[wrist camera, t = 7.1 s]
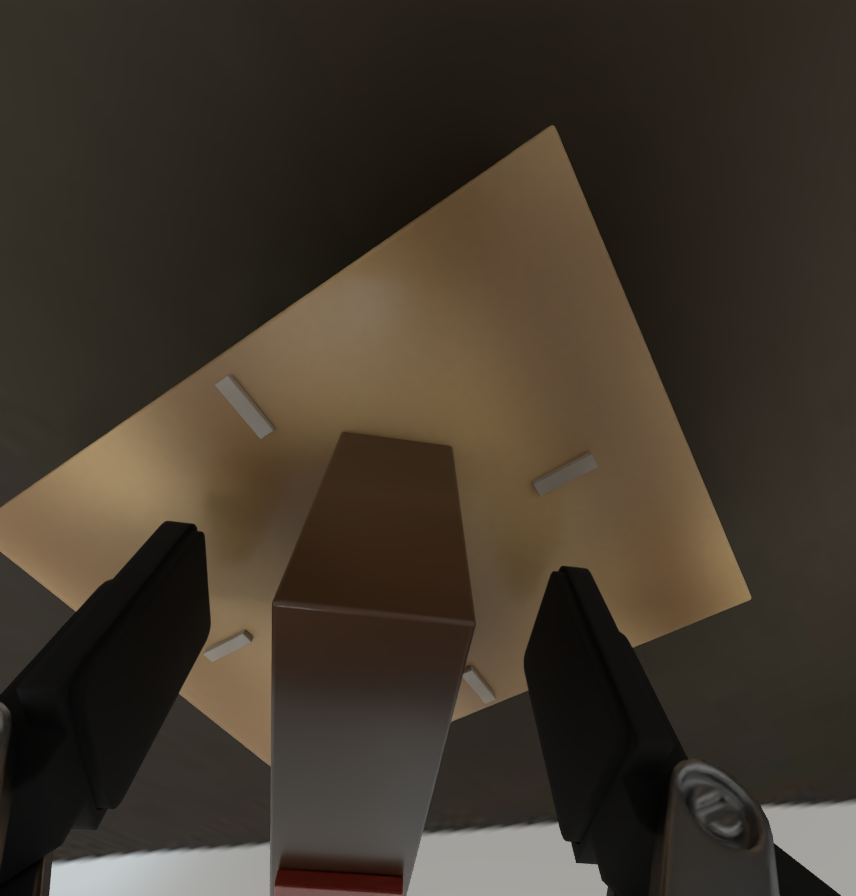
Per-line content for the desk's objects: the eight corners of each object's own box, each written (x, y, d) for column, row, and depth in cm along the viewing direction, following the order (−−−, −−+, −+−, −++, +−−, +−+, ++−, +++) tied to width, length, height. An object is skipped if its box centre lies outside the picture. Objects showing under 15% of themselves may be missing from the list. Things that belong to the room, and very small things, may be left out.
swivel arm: (340, 430, 10) (263, 618, 5) (453, 444, 10) (480, 641, 5) (324, 662, 13) (264, 920, 8) (410, 671, 13) (402, 928, 8)
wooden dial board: (515, 154, 11) (557, 119, 7) (684, 522, 15) (757, 604, 12) (72, 460, 14) (-37, 532, 11) (316, 690, 18) (292, 792, 15)
